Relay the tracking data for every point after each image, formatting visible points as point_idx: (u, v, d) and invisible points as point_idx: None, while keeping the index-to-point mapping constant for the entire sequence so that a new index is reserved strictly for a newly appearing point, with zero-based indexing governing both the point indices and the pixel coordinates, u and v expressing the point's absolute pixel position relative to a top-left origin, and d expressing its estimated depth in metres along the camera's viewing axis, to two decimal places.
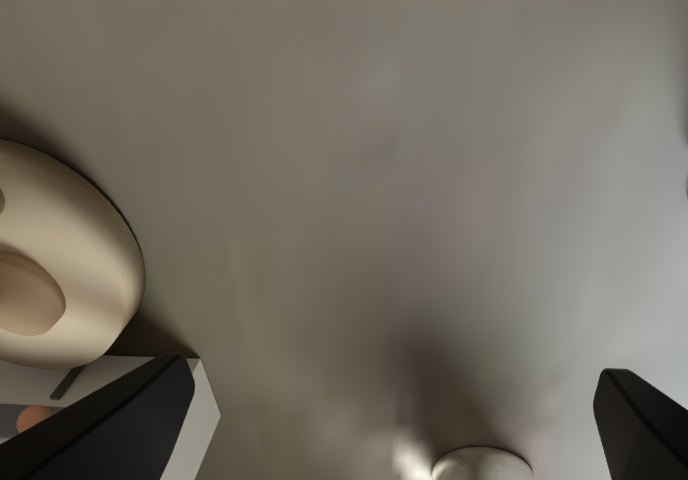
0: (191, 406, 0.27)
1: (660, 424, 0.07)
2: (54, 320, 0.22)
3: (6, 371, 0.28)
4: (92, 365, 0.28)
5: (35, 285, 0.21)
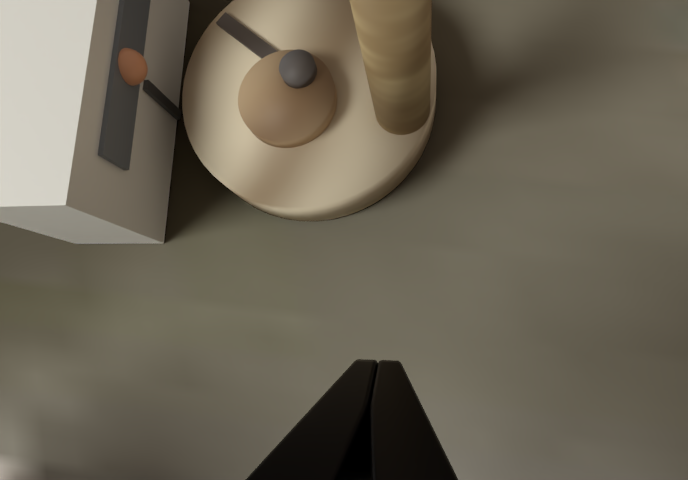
0: (112, 233, 0.23)
1: (380, 409, 0.07)
2: (257, 134, 0.21)
3: (172, 24, 0.26)
4: (168, 120, 0.25)
5: (302, 132, 0.21)
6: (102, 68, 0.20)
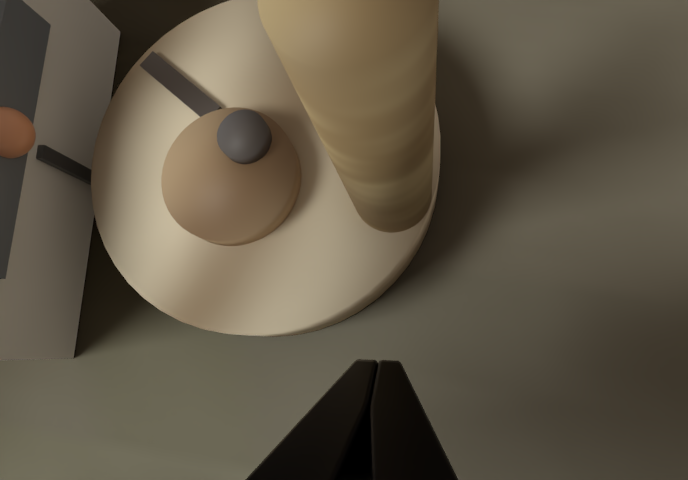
0: None
1: (380, 409, 0.07)
2: (186, 229, 0.15)
3: (90, 63, 0.19)
4: (83, 192, 0.19)
5: (248, 229, 0.15)
6: None
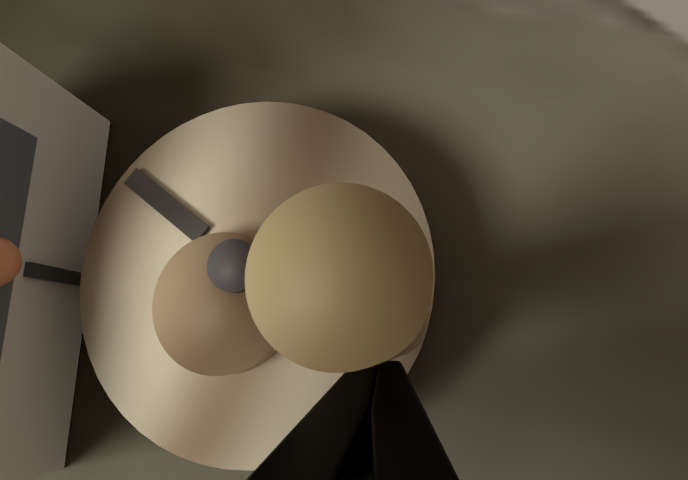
0: None
1: (381, 409, 0.07)
2: (180, 364, 0.15)
3: (78, 163, 0.19)
4: (72, 296, 0.19)
5: (244, 363, 0.14)
6: None
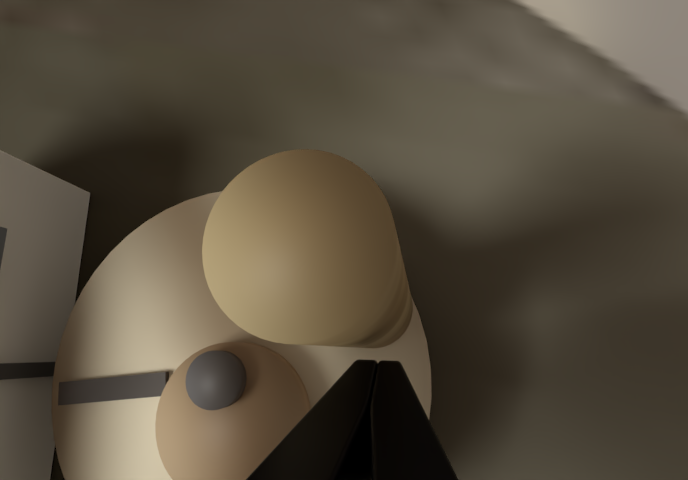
0: None
1: (380, 409, 0.07)
2: None
3: (54, 244, 0.18)
4: (47, 387, 0.18)
5: None
6: None
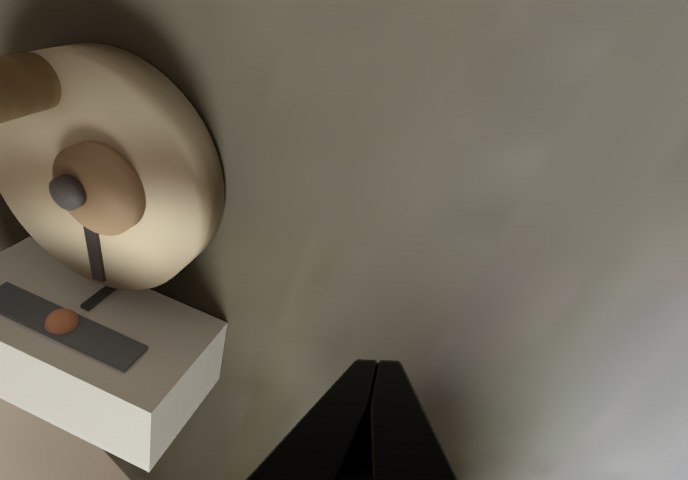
0: (204, 363, 0.27)
1: (380, 409, 0.07)
2: (132, 199, 0.22)
3: (42, 263, 0.29)
4: None
5: (103, 159, 0.21)
6: (56, 349, 0.24)
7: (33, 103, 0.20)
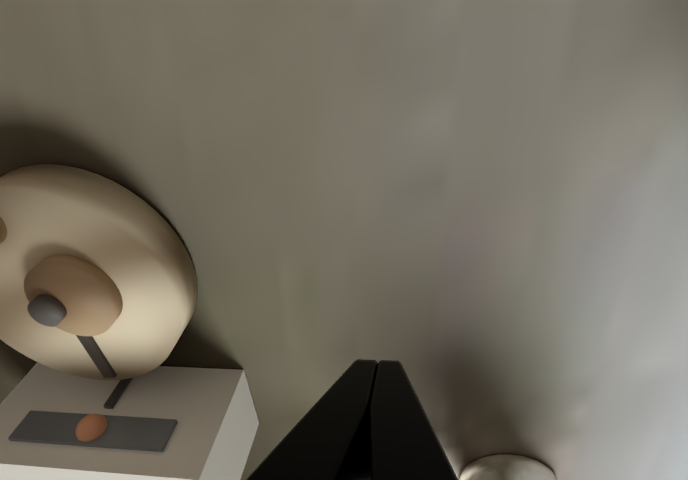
0: (236, 415, 0.28)
1: (380, 409, 0.07)
2: (105, 294, 0.22)
3: (58, 380, 0.30)
4: (140, 375, 0.30)
5: (64, 268, 0.22)
6: (94, 455, 0.25)
7: None
